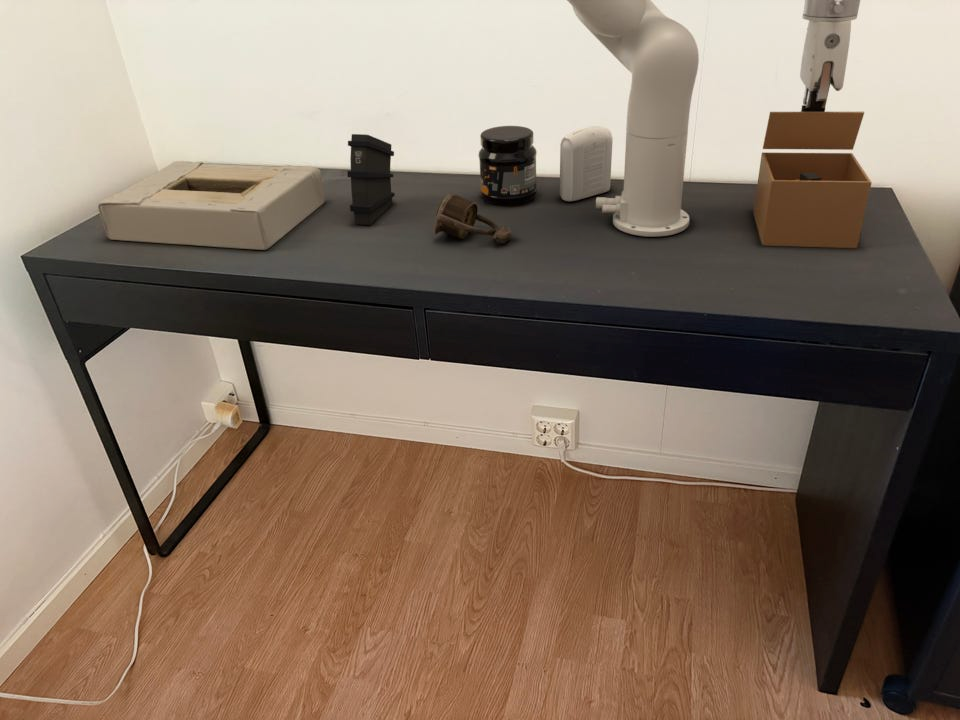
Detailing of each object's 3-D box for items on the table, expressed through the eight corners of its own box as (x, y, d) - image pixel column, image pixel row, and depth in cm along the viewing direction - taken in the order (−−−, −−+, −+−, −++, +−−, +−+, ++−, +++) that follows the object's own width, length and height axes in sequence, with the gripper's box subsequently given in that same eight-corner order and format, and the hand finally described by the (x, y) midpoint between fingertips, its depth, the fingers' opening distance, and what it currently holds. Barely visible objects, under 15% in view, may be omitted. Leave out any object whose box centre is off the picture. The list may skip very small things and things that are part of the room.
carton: (762, 245, 120) (771, 180, 115) (753, 212, 132) (761, 152, 126) (856, 248, 118) (871, 182, 112) (839, 214, 129) (852, 153, 124)
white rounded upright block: (598, 185, 147) (600, 119, 140) (613, 191, 144) (616, 124, 137) (556, 198, 142) (556, 130, 136) (570, 204, 139) (571, 136, 133)
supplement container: (482, 188, 149) (478, 125, 143) (536, 186, 148) (535, 123, 142) (479, 208, 140) (476, 142, 134) (537, 206, 139) (536, 140, 133)
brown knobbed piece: (467, 189, 133) (422, 192, 126) (521, 198, 124) (476, 202, 118) (465, 231, 135) (421, 236, 129) (518, 243, 127) (474, 249, 120)
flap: (770, 112, 120) (770, 111, 121) (762, 149, 126) (762, 147, 126) (864, 112, 118) (864, 111, 118) (852, 149, 123) (852, 148, 123)
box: (327, 202, 147) (181, 194, 155) (321, 162, 143) (170, 156, 151) (270, 254, 129) (107, 242, 136) (261, 210, 124) (92, 200, 132)
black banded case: (343, 223, 133) (348, 133, 131) (375, 227, 145) (379, 146, 144) (363, 224, 132) (368, 134, 130) (393, 228, 144) (398, 146, 142)
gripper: (870, 14, 107) (843, 146, 117) (847, -1, 119) (825, 119, 129) (812, 16, 108) (791, 145, 118) (796, 0, 121) (778, 119, 130)
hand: (809, 131), depth 124 cm, fingers closed
